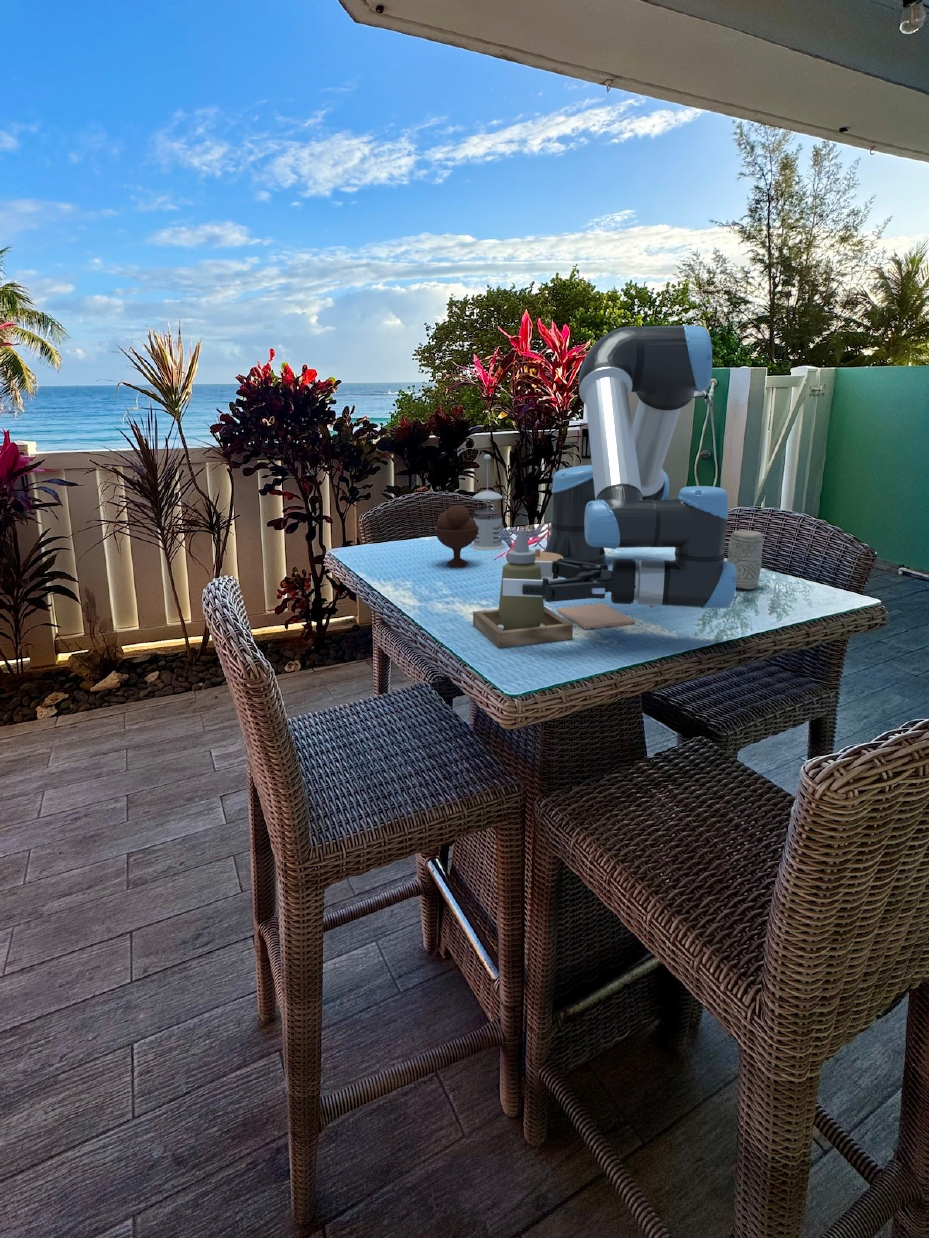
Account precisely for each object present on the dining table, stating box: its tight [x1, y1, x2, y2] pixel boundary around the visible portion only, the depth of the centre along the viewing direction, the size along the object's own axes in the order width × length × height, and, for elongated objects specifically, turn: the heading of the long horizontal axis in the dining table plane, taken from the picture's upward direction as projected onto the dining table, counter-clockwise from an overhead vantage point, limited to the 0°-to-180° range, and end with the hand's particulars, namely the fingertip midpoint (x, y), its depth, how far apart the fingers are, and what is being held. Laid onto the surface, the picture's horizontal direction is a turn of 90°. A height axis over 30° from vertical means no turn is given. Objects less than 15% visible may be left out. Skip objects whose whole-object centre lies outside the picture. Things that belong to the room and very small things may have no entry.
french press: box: [470, 453, 506, 551], centre depth 195 cm, size 10×12×25 cm
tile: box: [556, 602, 636, 630], centre depth 133 cm, size 10×12×1 cm
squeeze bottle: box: [498, 529, 545, 631], centre depth 123 cm, size 8×8×18 cm
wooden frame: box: [472, 606, 574, 649], centre depth 126 cm, size 13×13×2 cm
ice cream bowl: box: [434, 504, 479, 569], centre depth 175 cm, size 11×11×15 cm
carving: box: [726, 529, 764, 590], centre depth 150 cm, size 6×8×12 cm
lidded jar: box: [534, 548, 564, 581], centre depth 149 cm, size 11×11×9 cm
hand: (509, 577), depth 123 cm, fingers open, 13 cm apart
